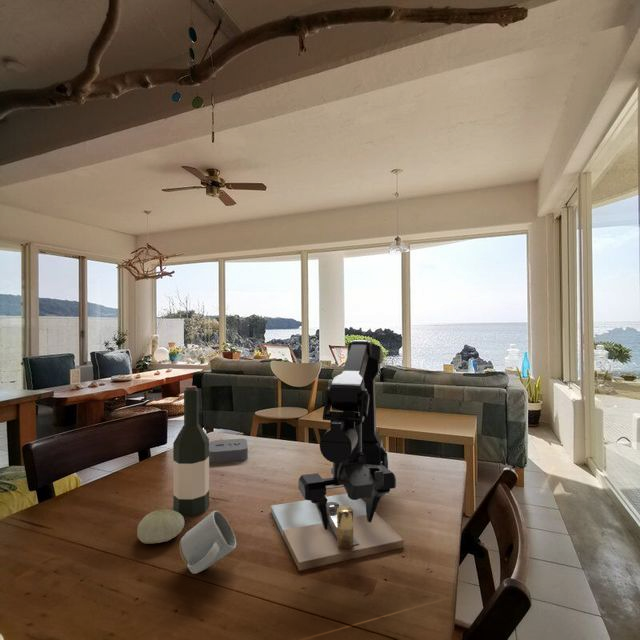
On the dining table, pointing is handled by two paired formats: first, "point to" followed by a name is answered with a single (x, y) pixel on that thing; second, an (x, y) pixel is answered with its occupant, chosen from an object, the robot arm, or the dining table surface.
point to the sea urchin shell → (160, 526)
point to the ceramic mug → (207, 542)
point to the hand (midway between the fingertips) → (347, 525)
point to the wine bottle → (191, 461)
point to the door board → (331, 533)
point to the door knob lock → (341, 523)
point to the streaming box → (228, 451)
